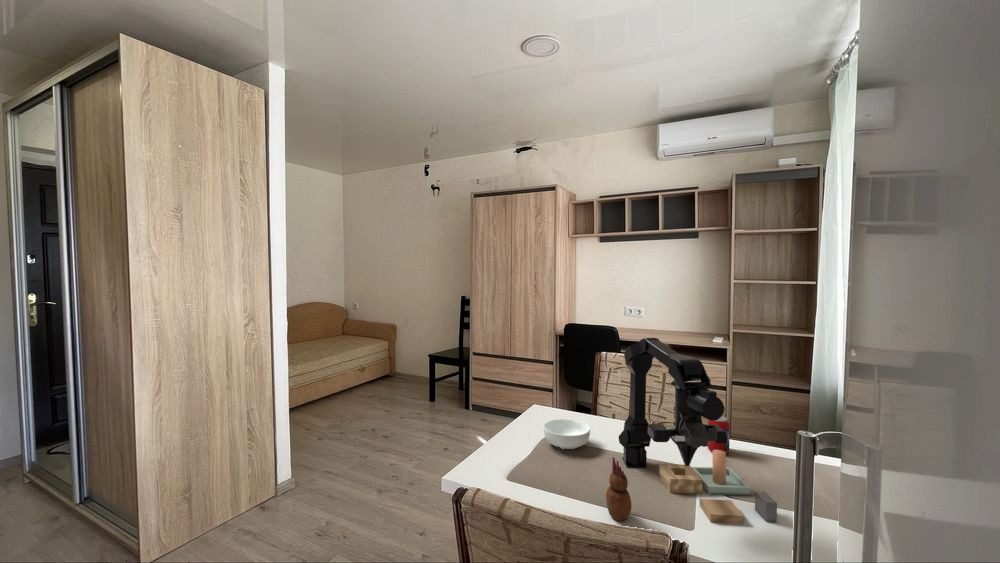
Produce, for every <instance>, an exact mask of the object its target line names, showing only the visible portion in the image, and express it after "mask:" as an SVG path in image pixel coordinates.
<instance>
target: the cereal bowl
mask: <svg viewBox="0 0 1000 563" xmlns="http://www.w3.org/2000/svg"><path fill="white" fill-rule="evenodd" d="M543 434H544V437H545V439H546V440H547V442H548V443H550V444H551V445H552V446H555V447H557V446H558V447H560V448H563V449H562V450H564V449H572V450H575V449H577V448H580V447H583V446H584V445H585V444H587V442H588V441H589V439H590V435H591V428H590V425H588V424H587V423H585V422H583V421H580V420H577V419H576V420H575V419H569V418H557V419H556V418H555V419H551V420H548V421H547V422H545V423H544V424H543ZM558 447H557V448H558ZM560 448H559V449H560ZM574 448H575V449H574Z"/></svg>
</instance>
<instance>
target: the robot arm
mask: <svg viewBox="0 0 1000 563" xmlns="http://www.w3.org/2000/svg"><path fill="white" fill-rule="evenodd" d="M623 354H624V355H623V357H624V362H625V366H626V368H627V369H628V370H629V373H630V374H629V375H630V378H629V379H630V380H629V385H630V386H629V415H628V417H627V419H625V421H624V423H623V424H624V425H623V430H622V431H621V433H619V435H618V441H619V442H618V443H619V444H620V446H622V447H623V456H622V457H621V460H622V461H623V463H624V465H625V467H626V468H640V469H641V468H645V469H646V468H647V462H648V461H647V457H648V456H647V455H648V454H647V453H648V452H647V450H646V447H648V448H649V447H650V445H651V440H652V441H653V442H655V443H668V442H669V441H670V440H671V441H672V442H673V443H674V445H676V447H677V449H678V451H679V454H680V456H681V459H682V461H683V465H685V466H689V465H690V466H691V463H692V460H693V458H694V456H695V454H696V452H697V451H698V448H700V447H703V448H704V447H707V448H708V443H709V441H715V442H716V443H728V434H727V432H726V431H724V430H723V429H722V428H721V427H719V426H718V425H708V423H707V424H703V420H702V417H703V418H704V419H706V420H707V421H708V420H711V421H715V420H718V419H719V418H720V417H721V416H722V417H723V415H724V412H725V405H724V402H723V401H722V399H721V398H720V397H718V395H717V392H716V391H715V390H710V389H712V388H713V385H712V381H711V378H710V377H709V376H708V373H707V370H706V368H705V366H704V365H703V363H702V362H701V360H700V359H698V358H696V357H693V356H690V355H684V354H680V353H679V352H677V351H675V350H674V349H672V348H671V347H669V346H668V345H666V344H664V343H663V342H662V341H660V338H657V337H643V338H641V339H640V340H639V341H637V342H635V343H633V344H631V345H629V346H628V347H627V348H626V349H625V350H624V353H623ZM654 359H656V360H657V361H659V362H660V363H661V364H662V365H664V366H665V367H666V368H667V371H668V375H670V376H671V378H673V381H671V382H670V385H671V386H673V387H675V388H674V390H675V391H674V406H673V411H674V421H673V426H674V428H668V427H666V425H664V424H663V423H649V422H648V421H647V419H646V412H647V411H646V410H647V409H646V406H647V404H646V402H647V399H646V398H647V374H648V373H649V371H650V370H651V368H652V366H653V360H654Z"/></svg>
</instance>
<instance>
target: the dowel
mask: <svg viewBox="0 0 1000 563" xmlns="http://www.w3.org/2000/svg"><path fill="white" fill-rule="evenodd" d="M712 467H713V482H714V483H716V484H718V485H725V484H726V468H727V454H726V453H725V452H724V451H721V450H713V452H712Z"/></svg>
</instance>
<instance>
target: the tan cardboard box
mask: <svg viewBox="0 0 1000 563" xmlns="http://www.w3.org/2000/svg"><path fill="white" fill-rule="evenodd" d="M699 508H700V509H701V510H702V512H703V513H704V515H705V516H706V518H707V519H708V521H709V522H710V523H716V524H717V523H718V524H731V525H732V524H733V525H744V524H745V516H744V514H743V513H742V512H741V511H740V509H739V508H738V507H737V506H736V505H735V504H734V502H733V501H732V499H714V498H713V499H712V498H711V499H710V498H699Z"/></svg>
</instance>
